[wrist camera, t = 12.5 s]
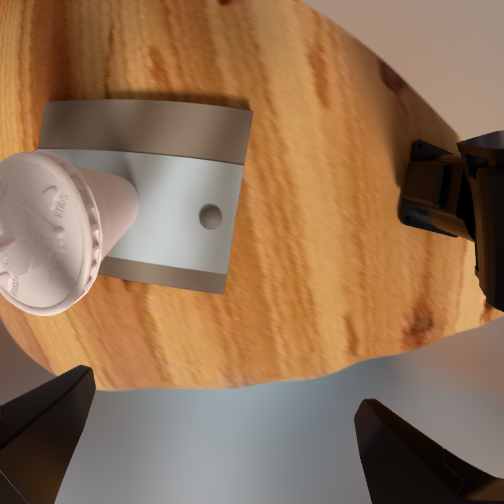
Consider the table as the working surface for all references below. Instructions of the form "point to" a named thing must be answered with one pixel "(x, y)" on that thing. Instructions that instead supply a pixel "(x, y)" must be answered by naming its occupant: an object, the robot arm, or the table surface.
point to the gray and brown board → (161, 181)
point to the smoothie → (57, 228)
